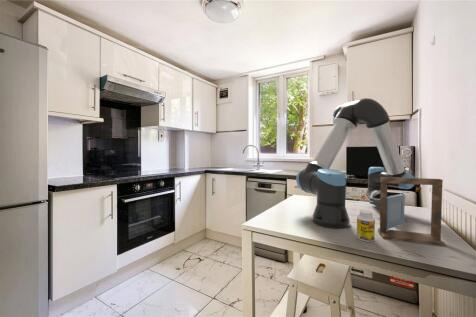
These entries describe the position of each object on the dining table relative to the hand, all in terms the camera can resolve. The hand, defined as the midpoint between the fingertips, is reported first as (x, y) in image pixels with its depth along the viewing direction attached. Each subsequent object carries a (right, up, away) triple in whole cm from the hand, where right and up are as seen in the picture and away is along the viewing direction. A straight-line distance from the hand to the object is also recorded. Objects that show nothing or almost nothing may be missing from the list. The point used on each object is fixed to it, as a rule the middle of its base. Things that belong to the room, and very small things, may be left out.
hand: (395, 210), depth 89 cm
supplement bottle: (-20, -8, -11) cm, 24 cm away
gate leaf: (-4, -5, -4) cm, 7 cm away
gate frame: (-3, -7, -10) cm, 13 cm away
